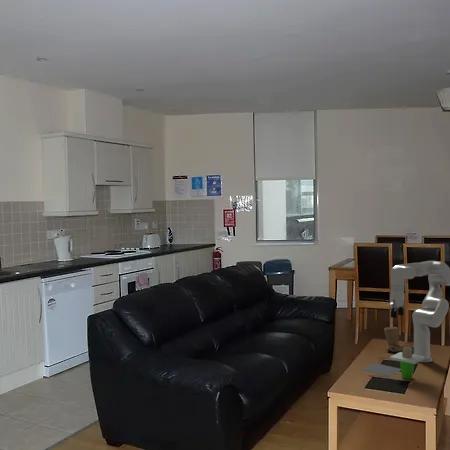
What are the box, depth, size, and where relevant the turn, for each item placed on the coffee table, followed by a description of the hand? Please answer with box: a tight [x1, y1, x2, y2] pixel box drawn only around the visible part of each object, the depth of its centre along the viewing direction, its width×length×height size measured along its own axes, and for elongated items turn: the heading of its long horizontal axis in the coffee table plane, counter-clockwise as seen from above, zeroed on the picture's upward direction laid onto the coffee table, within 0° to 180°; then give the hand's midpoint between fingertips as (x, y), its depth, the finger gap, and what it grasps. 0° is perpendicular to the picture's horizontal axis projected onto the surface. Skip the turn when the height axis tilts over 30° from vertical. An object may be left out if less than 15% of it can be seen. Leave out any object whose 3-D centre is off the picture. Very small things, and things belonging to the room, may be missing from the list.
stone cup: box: [383, 326, 403, 353], centre depth 354 cm, size 15×12×15 cm
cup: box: [399, 361, 416, 380], centre depth 293 cm, size 9×9×11 cm
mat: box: [360, 362, 401, 377], centre depth 308 cm, size 18×18×1 cm
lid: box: [389, 346, 425, 364], centre depth 293 cm, size 14×14×6 cm
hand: (397, 316), depth 314 cm, fingers open, 9 cm apart
